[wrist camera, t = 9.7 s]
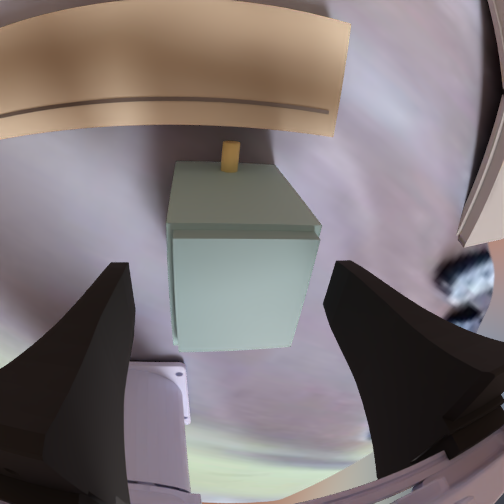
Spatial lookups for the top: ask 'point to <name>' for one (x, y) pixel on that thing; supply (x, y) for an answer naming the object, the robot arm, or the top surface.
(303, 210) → the green box with tab
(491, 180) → the gadget
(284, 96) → the plank
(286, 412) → the top surface
